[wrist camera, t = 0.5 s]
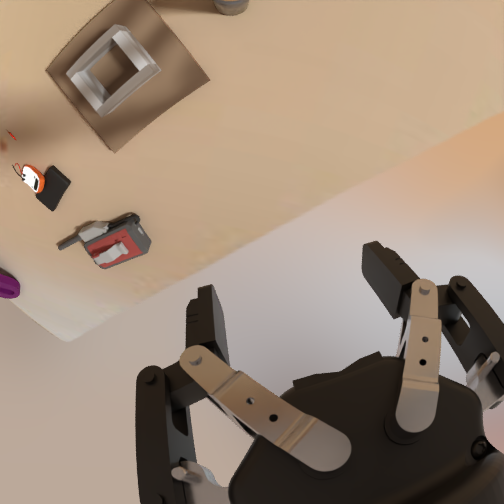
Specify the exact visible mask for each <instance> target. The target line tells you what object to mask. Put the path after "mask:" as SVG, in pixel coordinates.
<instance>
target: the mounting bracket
mask: <svg viewBox="0 0 504 504" xmlns="http://www.w3.org/2000/svg"><path fill="white" fill-rule="evenodd" d="M19 294H20V284H19V282H18V281H16V280H15V279H13V278H11V277H8V276H5V275H2V274H0V297H3V298H9V299H11V298H16V297H18V296H19Z"/></svg>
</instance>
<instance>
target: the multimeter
mask: <svg viewBox="0 0 504 504" xmlns="http://www.w3.org/2000/svg"><path fill="white" fill-rule="evenodd" d="M8 133H9V134H10V135H11V136H12V137H13V138H14V139H15V137H14V136H13V135H12V134H11V133H10V132H8ZM15 140H16V139H15ZM16 164H18V163H16ZM16 164H15V165H16ZM12 166H13V165H12ZM18 166H19V164H18ZM13 168H14V166H13ZM19 169H20V166H19ZM14 170H15V168H14ZM15 171H16V170H15ZM20 172H21V170H20ZM16 173H17V172H16ZM21 173H22V177H21V176H20V175H19V174H18V173H17V174H18V175H19V176H20V177H21V178H22V181H24V182H25V183H27V184H28V185H29V186H30V187H31V188H32V189H33V190H34V191H35V192H36V193H37V194H36V198H37V199H38V200H39V201H40V202H42V203H43V204H44V205H45V206H46V207H47V208H48V209H50V210H51V211H54V210H55V209H56V207H57V205H58V203H59V201H60V199H61V198H62V196H63V194H64V192H65V191H66V189H67V188H68V186H69V185H70V183H71V181H70V180H69V179H68V178H67V177H66V176H65V175H63V174H62V173H61V172H60V171H59V170H58V169H57V168H56V167H55V166H52V167H50V168H49V170H48V172H47V174H46V176H45V178H44V176H43V175H42V174H41V173H40V172H39V171H38V170H37V169H36V168H35V167H33V166H31V165H25V166H24V168H23V172H21Z"/></svg>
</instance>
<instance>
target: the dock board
mask: <svg viewBox="0 0 504 504" xmlns="http://www.w3.org/2000/svg"><path fill="white" fill-rule="evenodd" d="M47 71H48V72H49V73H50V75H51V76H52V77H53V79H54V80H55V81H56V82H57V84H58V85H59V86H60V88H61V89H62V90H63V91H64V93H65V94H66V95H67V96H68V98H69V99H70V100H71V101H72V103H73V104H74V105H75V106H76V108H77V109H78V110H79V111H80V113H81V114H82V115H83V116H84V117H85V119H86V120H87V121H88V122H89V124H90V125H91V126H92V127H93V128H94V130H95V131H96V132H97V133H98V134H99V136H100V137H101V138H102V139H103V140H104V141H105V143H106V144H107V145H108V146H109V147H110V149H111V150H112V151H113V152H114V153H116V152H117V151H118V150H119V149H120V148H122V147H123V146H124V145H125V144H126V143H127V142H128V141H129V140H131V139H132V138H133V137H134V136H135V135H136V134H138V133H139V132H140V131H141V130H142V129H144V128H145V127H146V126H147V125H148V124H150V123H151V122H152V121H153V120H155V119H156V118H157V117H159V116H160V115H161V114H162V113H164V112H165V111H166V110H168V109H169V108H170V107H172V106H173V105H175V104H176V103H177V102H179V101H180V100H182V99H183V98H184V97H186V96H187V95H189V94H190V93H192V92H193V91H195V90H196V89H198V88H199V87H201V86H202V85H204V84H205V83H207V82H208V81H210V79H209V78H208V76H207V75H206V74H205V72H204V71H203V70H202V68H201V67H200V66H199V64H198V63H197V62H196V60H195V59H194V58H193V57H192V55H191V54H190V53H189V51H188V50H187V49H186V48H185V46H184V45H183V44H182V42H181V41H180V40H179V39H178V37H177V36H176V35H175V34H174V33H173V31H172V30H171V29H170V28H169V26H168V25H167V24H166V23H165V22H164V20H163V19H162V18H161V17H160V16H159V14H158V13H157V12H156V11H155V10H154V9H153V8H152V6H151V5H150V4H149V3H148V2H147V1H146V0H114V1H113V2H112V3H111V4H109V5H108V6H107V7H106V8H105V9H104V10H102V11H101V12H100V13H99V14H98V15H97V16H96V17H95V18H94V19H93V20H92V21H90V22H89V23H88V24H87V25H86V26H85V27H84V28H83V29H82V30H81V31H80V32H79V33H78V34H77V35H76V36H75V37H74V39H73V40H72V41H71V42H70V43H69V44H68V45H67V46H66V47H65V48H64V50H63V51H62V52H61V53H60V54H59V55H58V57H57V58H56V59H55V60H54V61H53V63H52V64H51V65H50V66H49V68H48V69H47Z"/></svg>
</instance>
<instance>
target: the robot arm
mask: <svg viewBox="0 0 504 504" xmlns="http://www.w3.org/2000/svg"><path fill="white" fill-rule="evenodd" d="M362 273H363V276H364V278H365V279H366V280H367V282H368V283H369V285H370V286H371V287H372V289H373V290H374V292H375V293H376V294H377V296H378V297H379V299H380V300H381V302H382V303H383V304H384V306H385V307H386V309H387V310H388V312H389V313H390V315H391V316H392V318H393V319H396V318H398V317H402V318H403V321H402V325H401V332H400V338H399V345H398V350H397V354H396V357H394V356H383V357H382V356H381V354H380V352H379V351H378V352H376V353H373V354H371V355H368V356H365V357H363V358H360V359H359V360H357V361H356V362H354V363H353V364H351V365H350V366H348V367H347V368H345V369H343V370H342V371H339V372H332V373H322V374H314V375H311V376H307V377H304V378H301V379H297V380H293V386H294V387H292V388H290V389H289V390H287V391H286V392H284V393H283V394H282V395H281V396H280V397H278V396H277V395H275V394H274V393H272V392H271V391H269V390H268V389H266V388H265V387H263V386H262V385H261V384H259V383H258V382H256V381H255V380H253V379H252V378H251V377H249V376H248V375H246V374H245V373H244V372H242V371H235V370H234V369H232V368H231V367H230V363H229V355H228V348H227V340H226V331H225V323H224V315H223V311H222V307H221V304H220V302H219V299H218V296H217V294H216V291H215V289H214V286H213V285H212V284H211V285H207V286H203V287H199V288H198V298H197V299H192V300H190V302H189V304H188V306H187V308H186V309H187V310H186V317H187V318H186V349H185V351H184V352H183V353H182V355H181V356H180V360H179V361H178V362H176V363H174V364H173V365H170V366H168V367H166V368H164V369H161V368H160V367H158V366H148V367H146V368H144V369H143V370H142V371H141V372H140V373H139V374H138V376H137V380H136V414H135V415H136V417H135V418H136V419H135V421H136V423H135V427H136V460H137V475H138V487H139V497H140V503H141V504H504V454H503V453H501V452H500V451H498V450H497V449H496V448H495V447H493V446H492V445H491V444H490V443H489V442H488V440H487V438H486V436H485V433H484V427H483V412H484V411H486V410H487V409H493V408H495V407H497V406H498V405H499V404H500V403H501V402H502V401H503V400H504V324H503V322H502V321H501V320H500V318H499V317H498V315H497V314H496V313H495V312H494V310H493V309H492V308H491V306H490V305H489V304H488V303H487V301H486V300H485V299H484V298H483V296H482V295H481V294H480V293H479V292H478V290H477V289H476V288H475V287H474V286H473V285H472V283H471V282H470V281H469V280H468V279H467V278H465V277H463V276H453V277H452V278H451V279H450V282H449V284H448V285H439V286H436V285H435V284H434V283H433V282H432V281H430V280H427V279H420V278H419V277H418V276H417V275H416V274H415V273H414V271H413V270H412V269H411V268H410V267H409V266H408V265H407V264H406V263H405V262H404V261H403V259H402V258H400V256H399V255H398V254H397V253H396V252H395V251H393V250H391V249H389V248H387V247H386V248H384V247H383V246H382V245H381V244H380V243H379V242H378V241H374V242H370V243H367V244H364V245H363V252H362ZM461 314H463V315H464V317H465V318H466V319H467V321H468V322H469V324H470V328H469V327H468V325H467V324H466V322H465V321H464V320H463V318H462V317H461ZM441 331H442V332H443V334H444V336H445V337H446V339H447V340H448V342H449V344H450V345H451V347H452V349H453V350H454V352H455V354H456V355H457V357H458V358H459V360H460V362H461V364H462V366H463V368H464V369H465V371H466V373H467V376H466V382H467V385H466V386H464V385H462V384H459V383H457V382H455V381H452V380H450V379H448V378H445V377H443V376H441V375H439V364H440V351H441ZM204 398H207V399H208V400H209V401H210V402H211V403H212V404H214V405H215V406H216V407H217V408H218V409H219V410H220V411H221V412H223V413H224V414H225V415H226V416H227V417H228V418H229V419H231V420H232V421H233V422H234V423H235V424H236V425H237V426H238V427H239V428H240V429H242V430H243V431H244V432H245V433H246V434H248V435H249V436H250V437H252V438H253V439H254V442H253V443H252V445H251V446H250V448H249V450H248V452H247V453H246V455H245V457H244V459H243V460H242V462H241V464H240V465H239V467H238V468H237V470H236V472H235V473H234V475H233V477H232V478H231V481H230V483H229V487H222V486H220V485H219V484H218V483H217V482H216V480H215V478H214V475H213V474H212V472H211V471H210V470H209V469H207V468H206V467H204V466H201V465H199V464H197V460H196V454H195V448H194V440H193V433H192V425H191V417H190V409H189V405H191V404H193V403H195V402H198V401H199V400H202V399H204Z"/></svg>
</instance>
